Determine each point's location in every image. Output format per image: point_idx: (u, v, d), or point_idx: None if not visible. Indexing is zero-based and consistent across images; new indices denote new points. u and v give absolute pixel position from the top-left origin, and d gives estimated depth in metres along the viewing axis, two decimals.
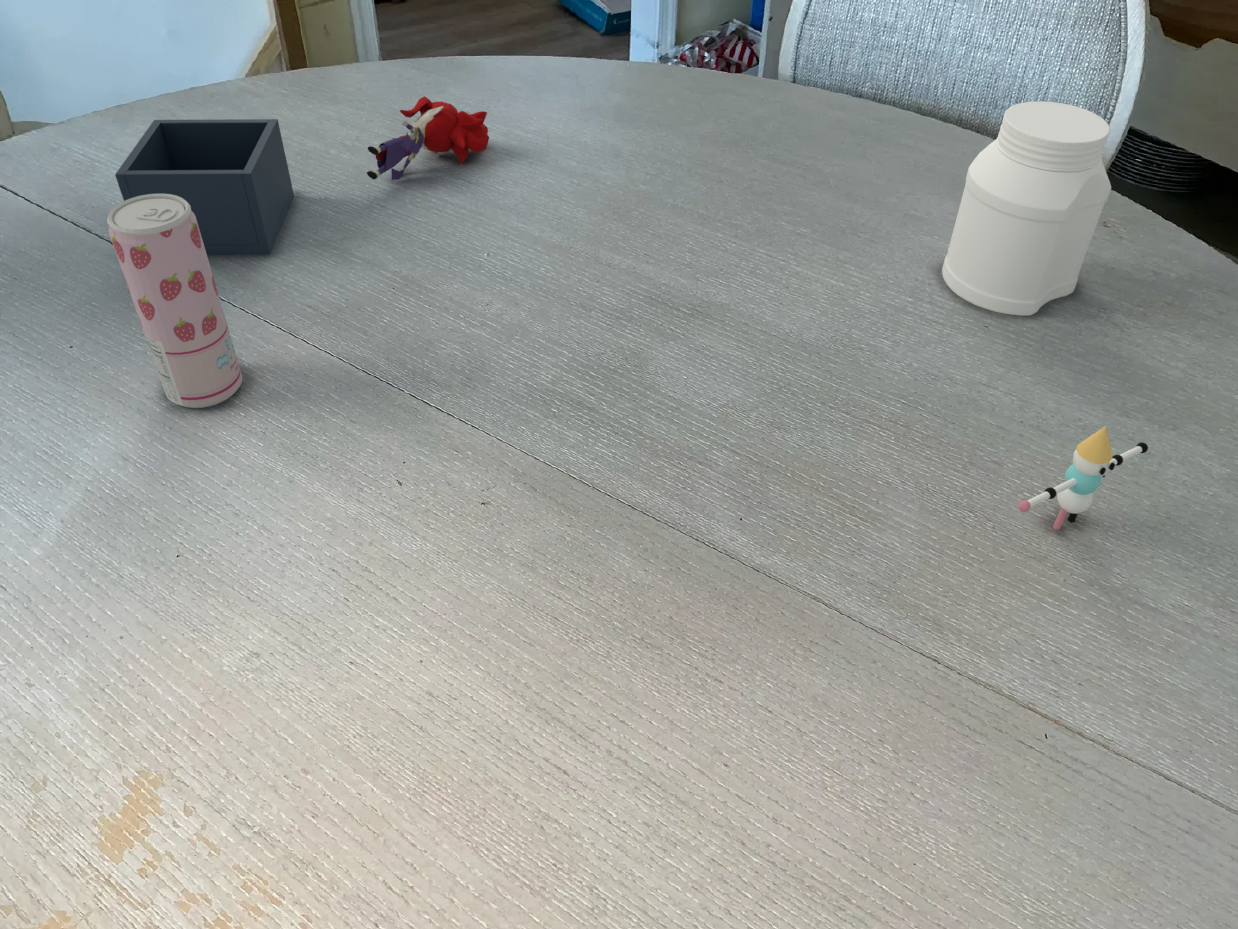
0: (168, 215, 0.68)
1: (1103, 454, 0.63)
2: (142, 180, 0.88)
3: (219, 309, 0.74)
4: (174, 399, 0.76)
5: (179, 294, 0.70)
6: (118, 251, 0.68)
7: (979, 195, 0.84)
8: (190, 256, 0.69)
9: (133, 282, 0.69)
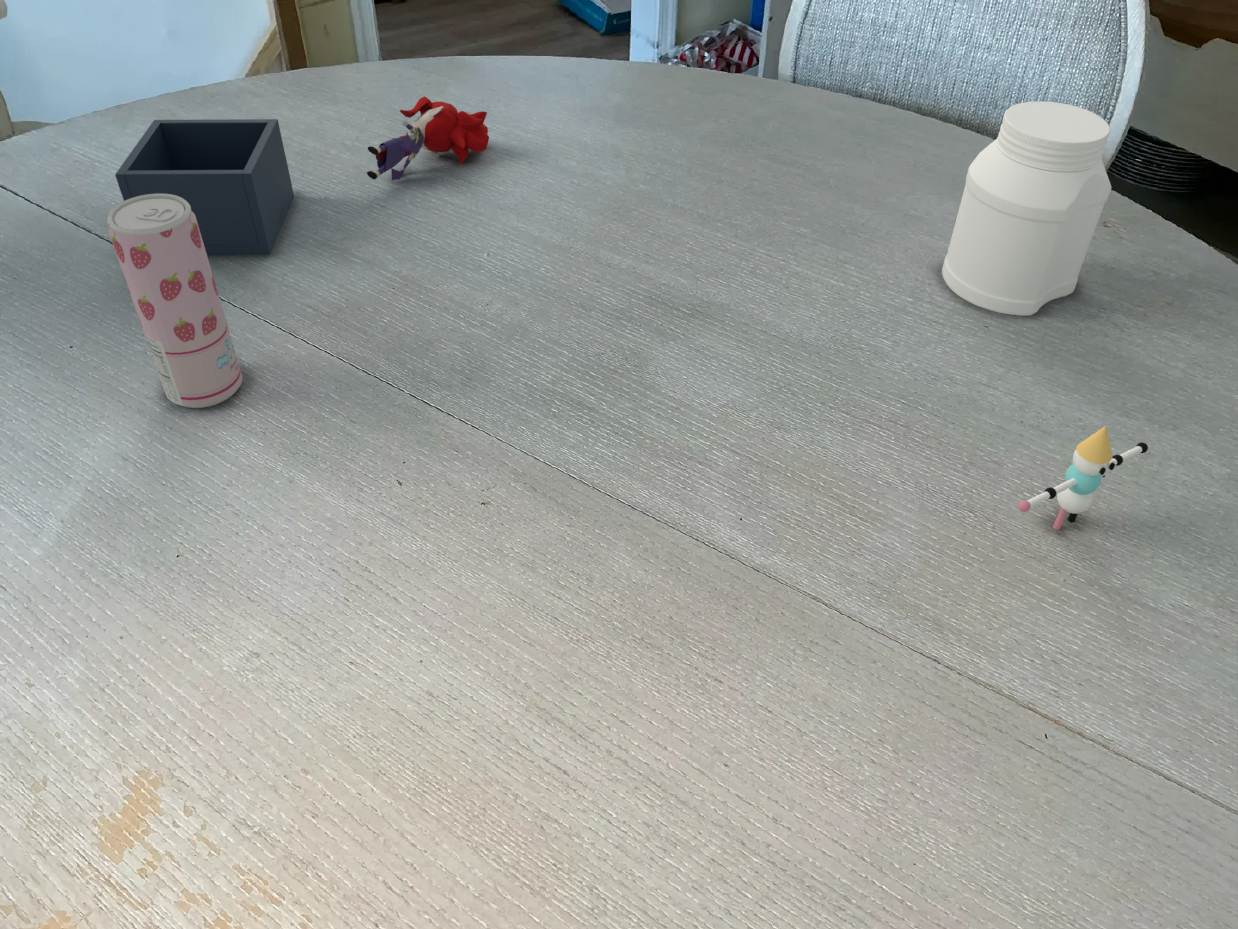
0: (168, 215, 0.68)
1: (1103, 454, 0.63)
2: (142, 180, 0.88)
3: (219, 309, 0.74)
4: (174, 399, 0.76)
5: (179, 294, 0.70)
6: (118, 251, 0.68)
7: (979, 195, 0.84)
8: (190, 256, 0.69)
9: (133, 282, 0.69)
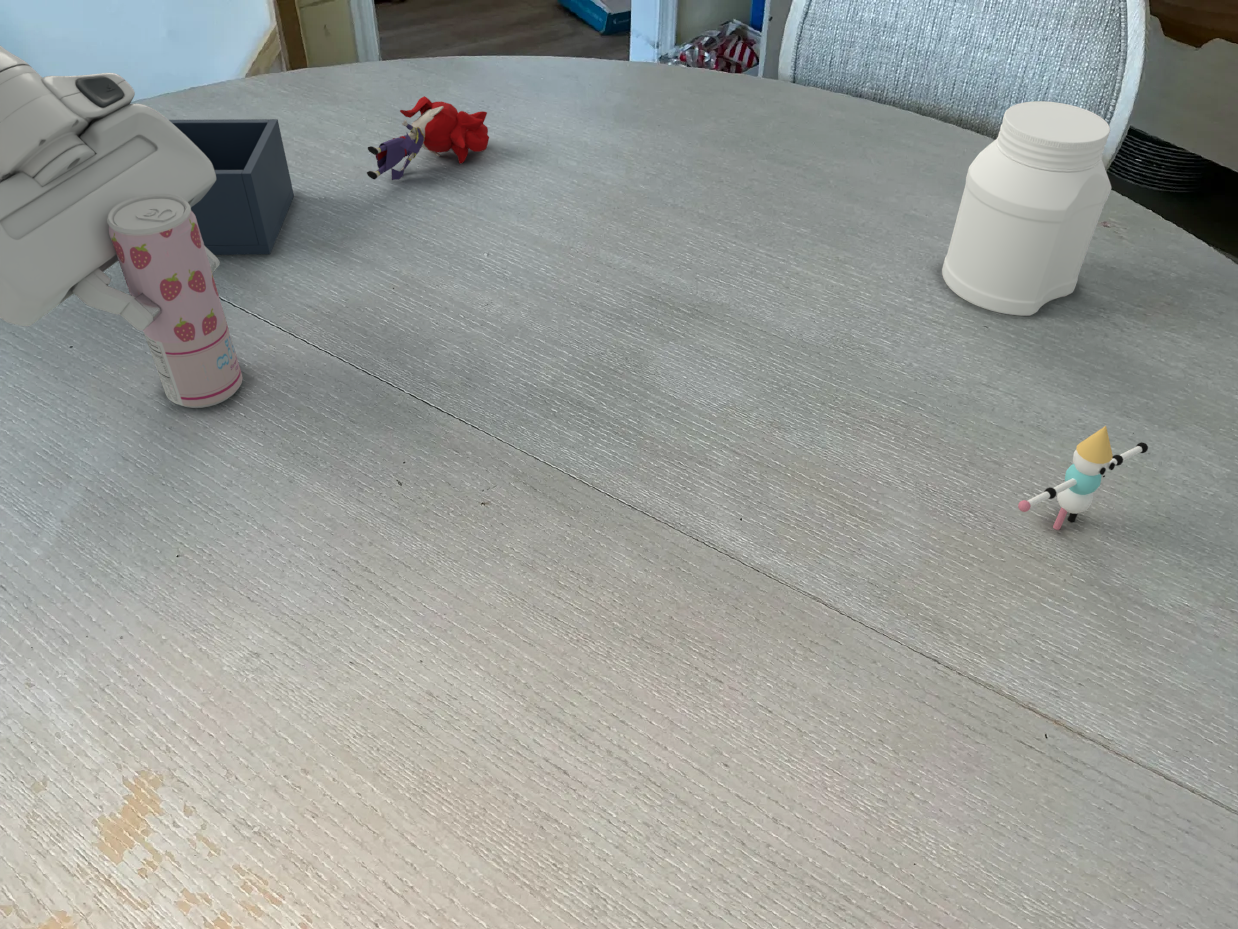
0: (168, 215, 0.68)
1: (1103, 454, 0.63)
2: None
3: (219, 309, 0.74)
4: (174, 399, 0.76)
5: (179, 294, 0.70)
6: (118, 251, 0.68)
7: (979, 195, 0.84)
8: (190, 257, 0.69)
9: (133, 282, 0.69)
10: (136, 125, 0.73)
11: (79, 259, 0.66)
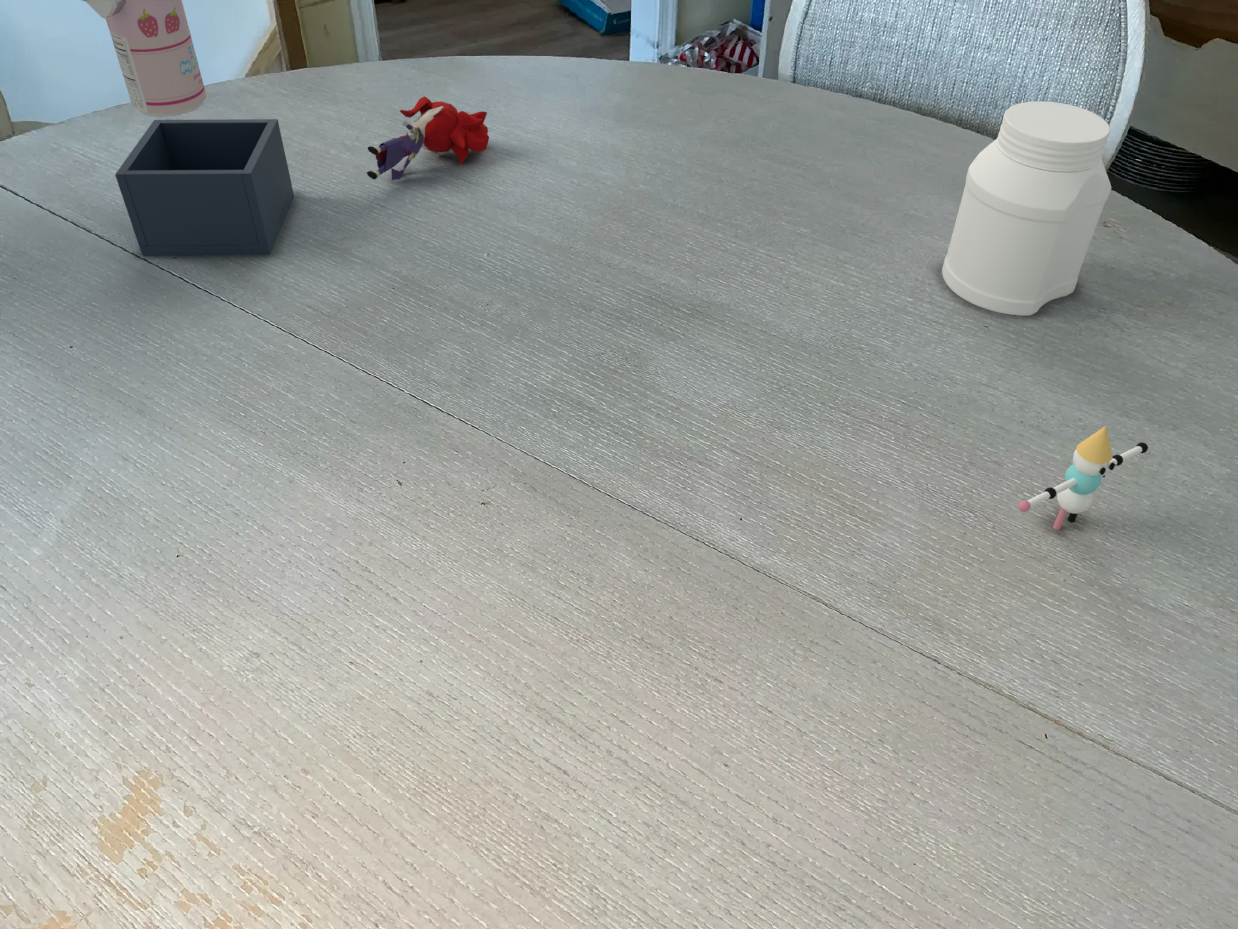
0: None
1: (1103, 454, 0.63)
2: (142, 180, 0.88)
3: (182, 12, 0.77)
4: (140, 106, 0.79)
5: None
6: None
7: (979, 195, 0.84)
8: None
9: None
10: None
11: None
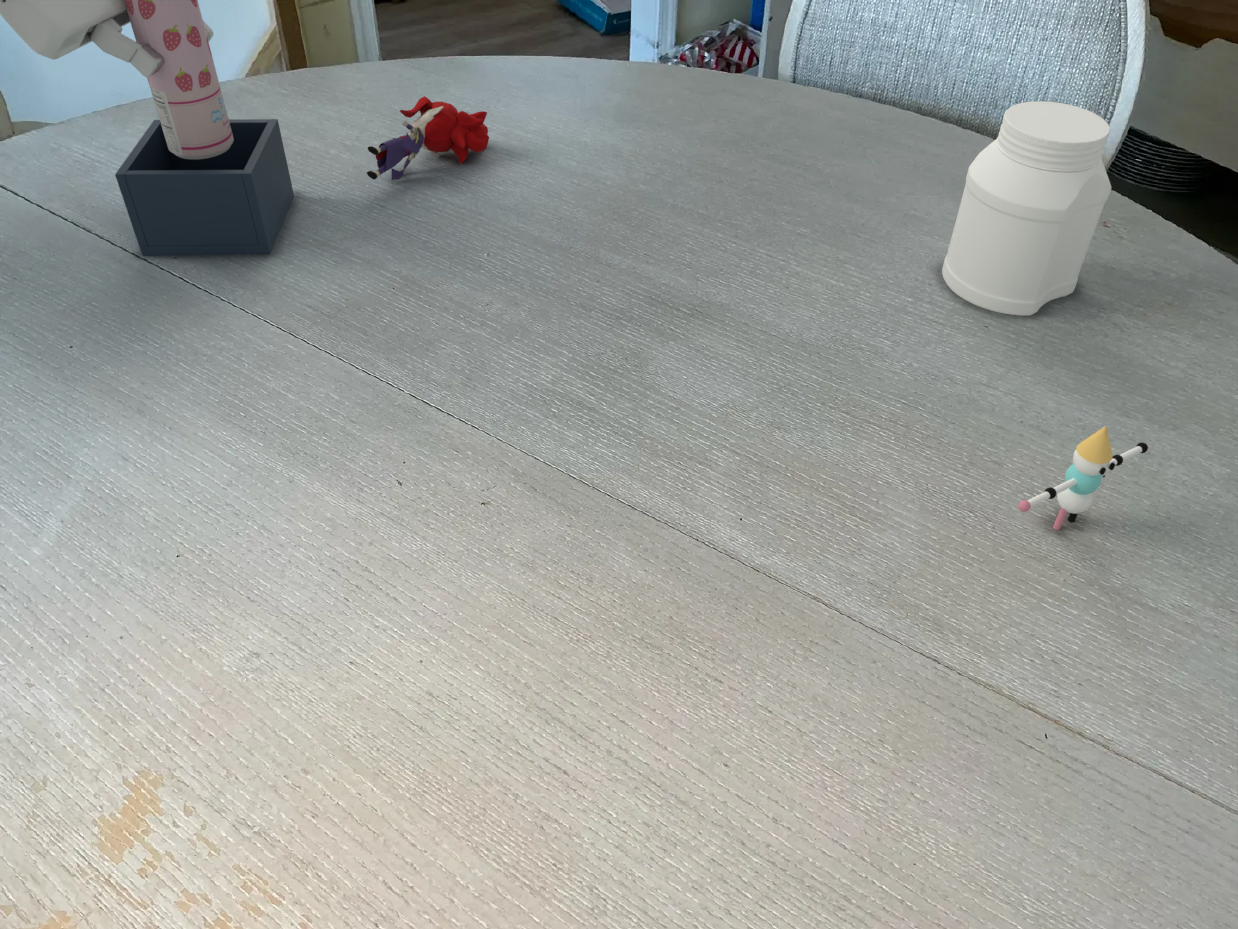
0: None
1: (1103, 454, 0.63)
2: (142, 180, 0.88)
3: (213, 68, 0.87)
4: (176, 150, 0.90)
5: (179, 45, 0.84)
6: (128, 4, 0.82)
7: (979, 195, 0.84)
8: (188, 12, 0.83)
9: (140, 33, 0.83)
10: None
11: (96, 5, 0.80)
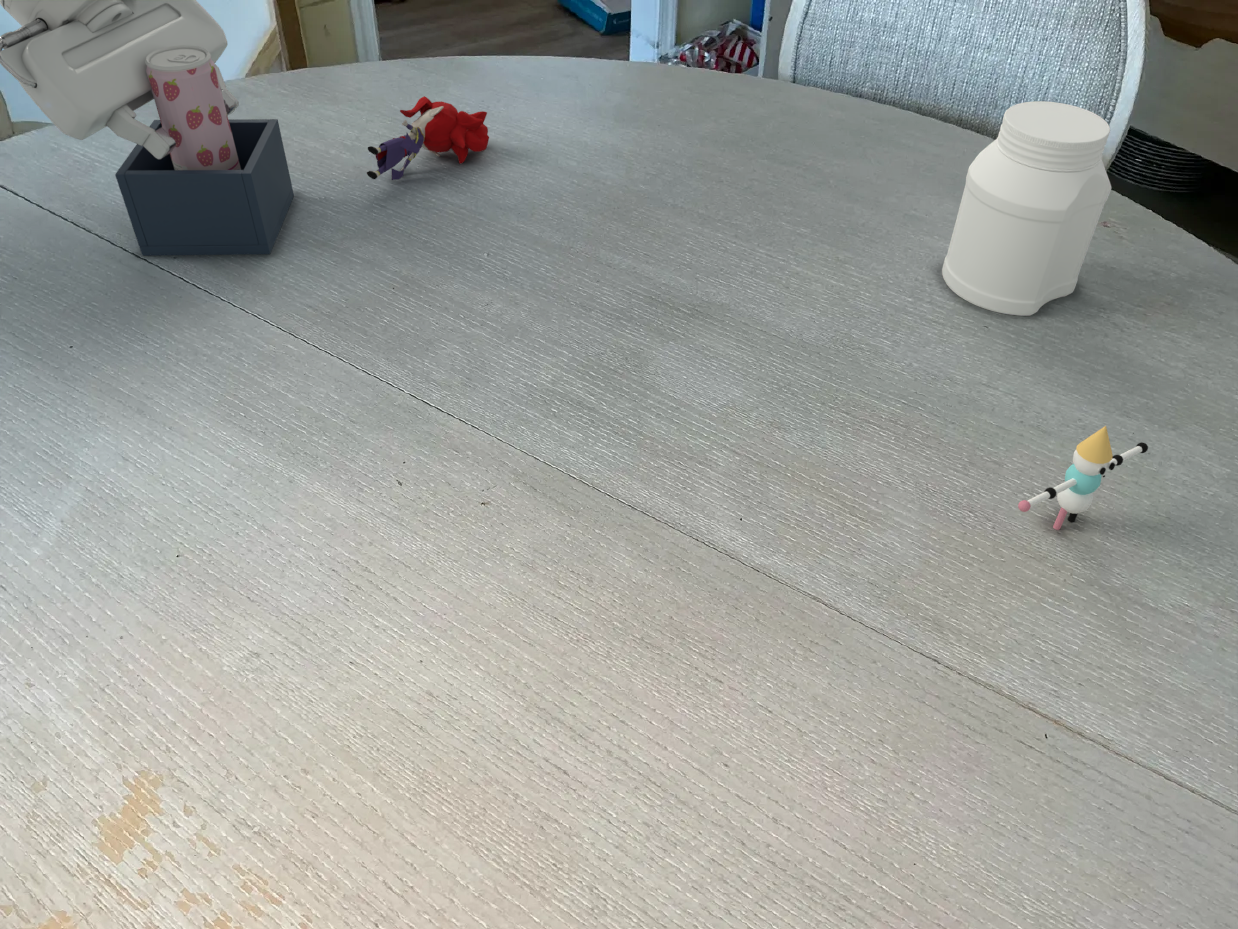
0: (192, 59, 0.87)
1: (1103, 454, 0.63)
2: (142, 180, 0.88)
3: (232, 143, 0.92)
4: None
5: (201, 124, 0.88)
6: (154, 86, 0.86)
7: (979, 195, 0.84)
8: (210, 93, 0.88)
9: (164, 113, 0.88)
10: None
11: (121, 88, 0.84)
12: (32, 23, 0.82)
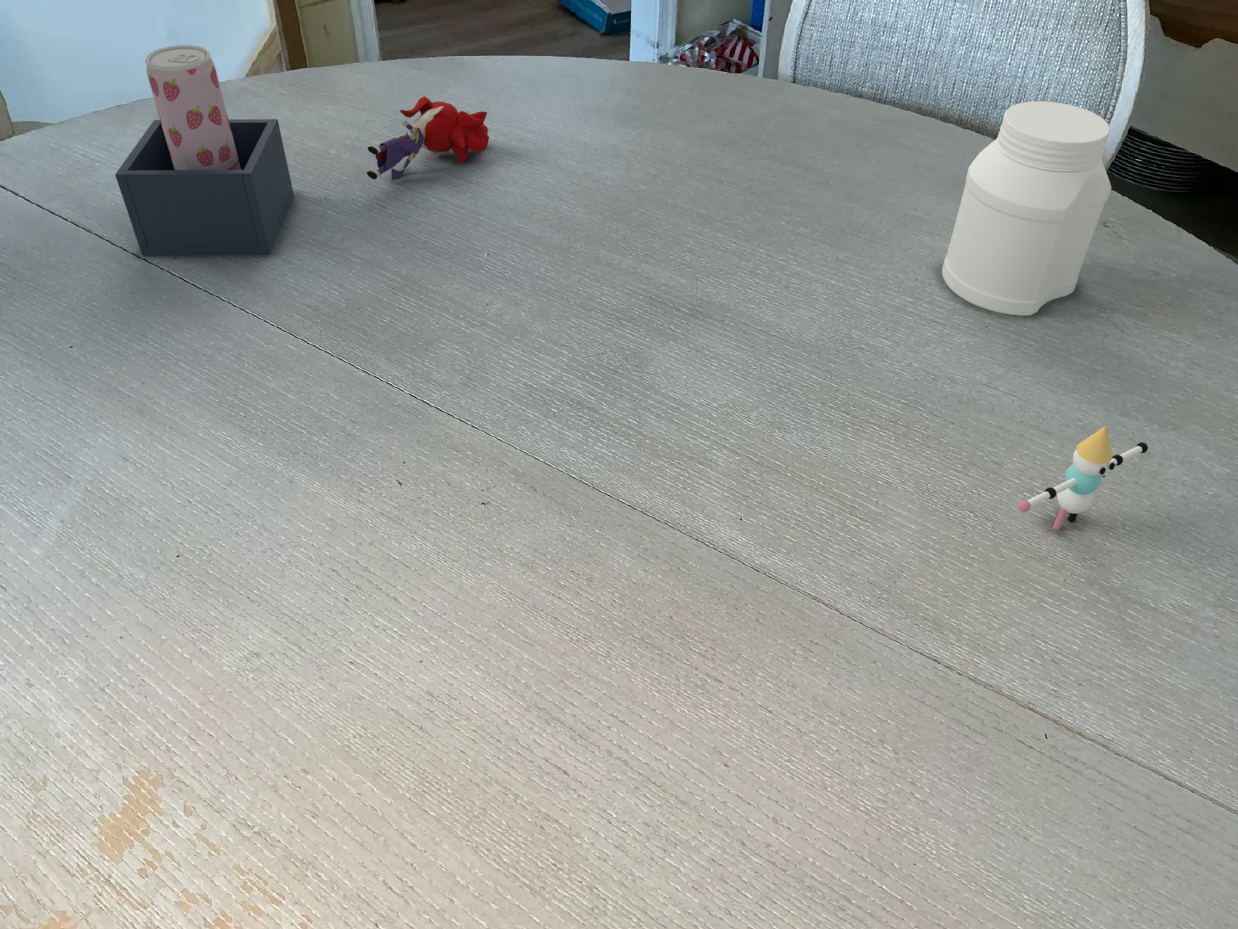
0: (192, 59, 0.87)
1: (1103, 454, 0.63)
2: (142, 180, 0.88)
3: (232, 143, 0.92)
4: None
5: (201, 124, 0.88)
6: (154, 86, 0.86)
7: (979, 195, 0.84)
8: (210, 93, 0.88)
9: (164, 113, 0.88)
10: None
11: None
12: None
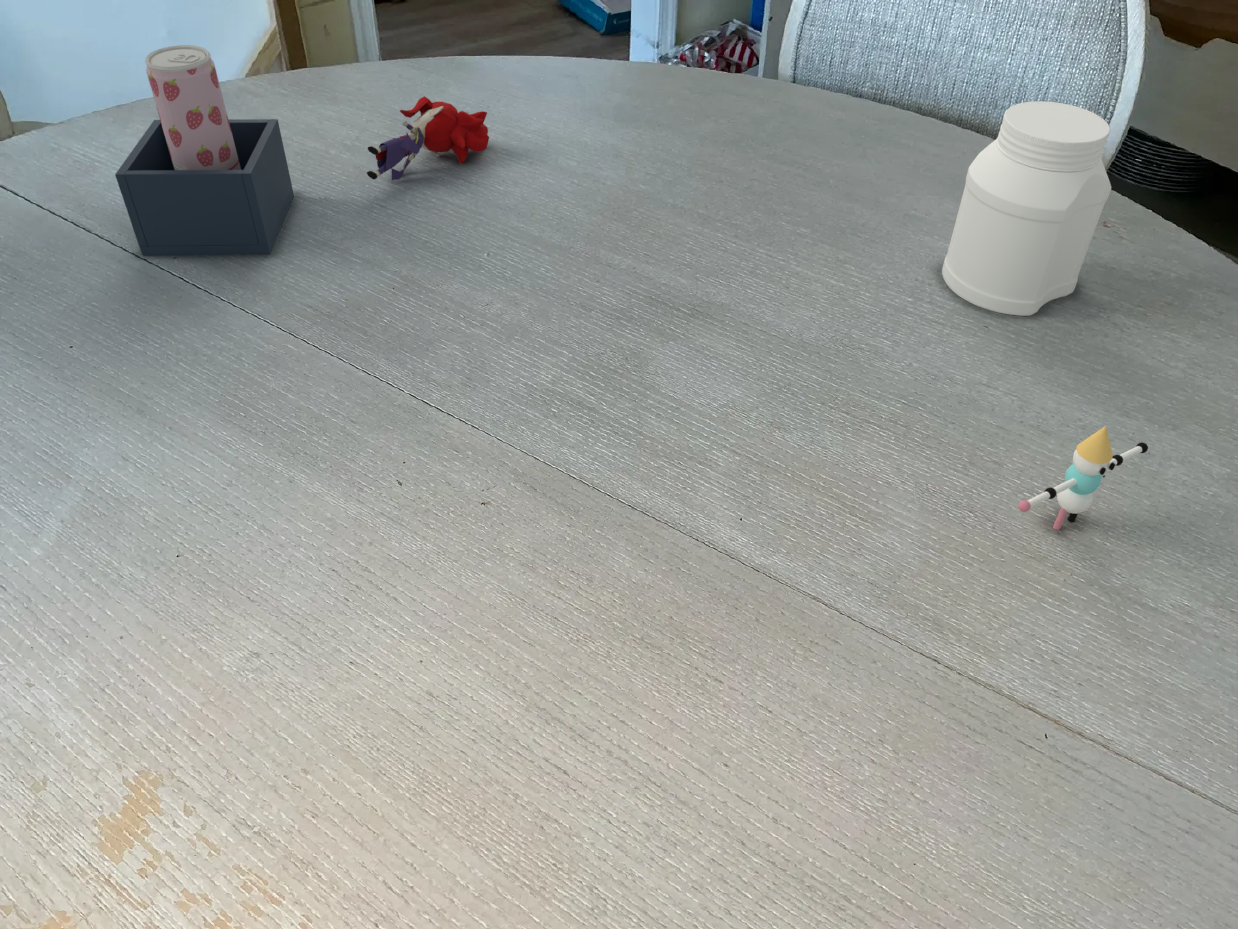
0: (192, 59, 0.87)
1: (1103, 454, 0.63)
2: (142, 180, 0.88)
3: (232, 143, 0.92)
4: None
5: (201, 124, 0.88)
6: (154, 86, 0.86)
7: (979, 195, 0.84)
8: (210, 93, 0.88)
9: (164, 113, 0.88)
10: None
11: None
12: None
